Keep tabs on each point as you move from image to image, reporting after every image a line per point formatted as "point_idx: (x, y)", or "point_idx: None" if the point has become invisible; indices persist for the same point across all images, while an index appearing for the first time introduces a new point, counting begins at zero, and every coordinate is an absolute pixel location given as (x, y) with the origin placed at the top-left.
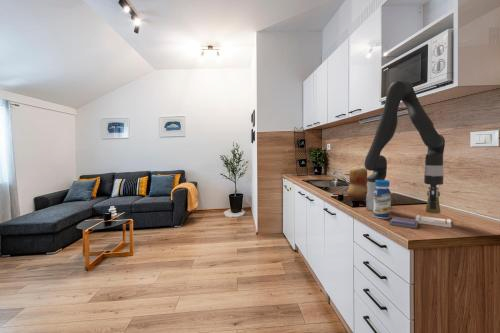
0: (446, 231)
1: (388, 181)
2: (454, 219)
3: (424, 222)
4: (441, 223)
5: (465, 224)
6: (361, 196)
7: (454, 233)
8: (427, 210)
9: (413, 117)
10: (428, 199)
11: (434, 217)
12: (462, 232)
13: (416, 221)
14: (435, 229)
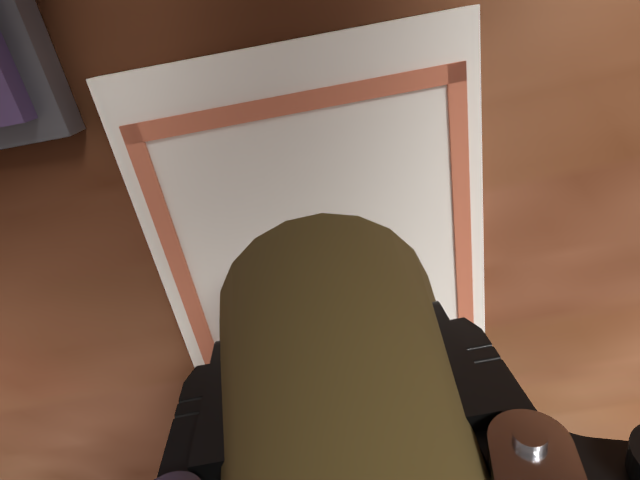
0: (34, 399)
1: None
2: (590, 356)
3: (135, 197)
4: (206, 350)
5: None
6: None
7: (32, 446)
8: (238, 275)
9: None
10: (261, 474)
11: (466, 237)
12: (127, 472)
13: (21, 124)
14: (6, 325)
